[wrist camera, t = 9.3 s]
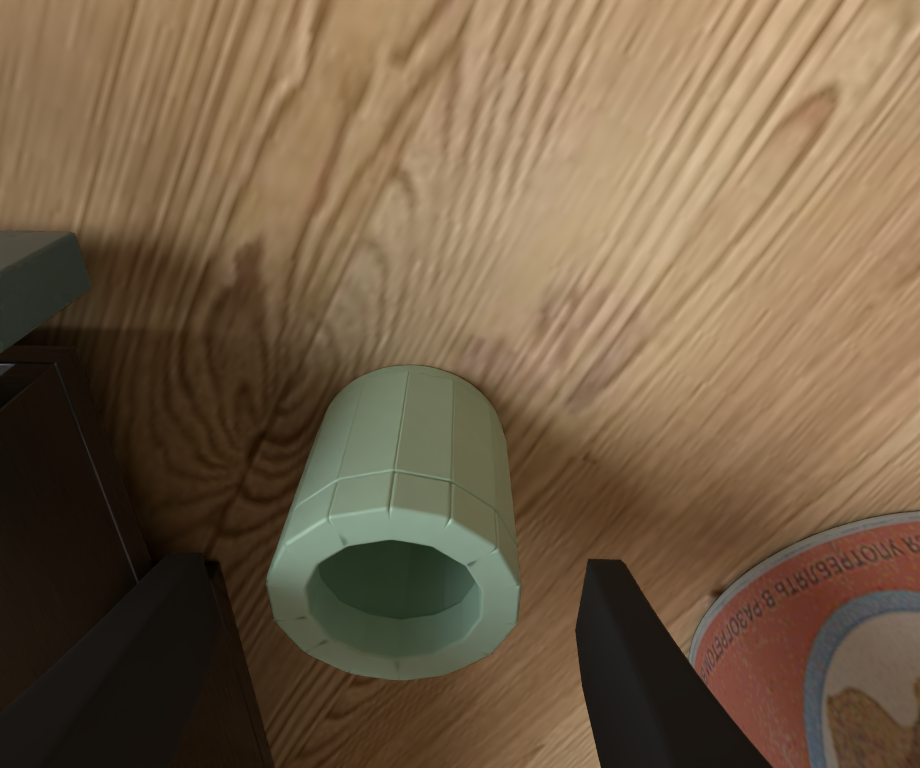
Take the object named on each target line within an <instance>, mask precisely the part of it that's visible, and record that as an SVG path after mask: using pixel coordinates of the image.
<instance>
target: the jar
mask: <svg viewBox="0 0 920 768" xmlns="http://www.w3.org/2000/svg"><path fill="white" fill-rule="evenodd" d="M521 587H522V586H521V577H520V567H519V558H518V551H517V537H516V528H515V519H514V509H513V500H512V491H511V481H510V472H509V463H508V453H507V444H506V437H505V435H504V433H503V429H502V425H501V422H500V419H499V417H498V415H497V413H496V411H495V409H494V407H493V406H492V405H491V403H490V402H489V401H488V399H487V398H486V397H485V396H484V395H483V394H482V393H481V392H480V391H479V390H478V389H476V388H475V387H474V386H472V385H471V384H470V383H468V382H467V381H465V380H463V379H462V378H460V377H458V376H456V375H453V374H451V373H449V372H446V371H443V370H440V369H436V368H431V367H426V366H416V365H400V366H392V367H386V368H382V369H378V370H375V371H372V372H370V373H367V374H365V375H363V376H361V377H359V378H357V379H356V380H354V381H352V382H351V383H349V384H348V385H347V386H346V387H344V388H343V389H342V390H341V391H340V392H339V393H338V394H337V395H336V396H335V398H334V399H333V401H332V402H331V403H330V405H329V407H328V409H327V411H326V413H325V415H324V418H323V421H322V423H321V425H320V428H319V430H318V432H317V434H316V437H315V440H314V442H313V445H312V448H311V451H310V454H309V457H308V459H307V462H306V465H305V468H304V471H303V474H302V476H301V479H300V482H299V485H298V488H297V491H296V493H295V496H294V499H293V502H292V505H291V508H290V510H289V513H288V516H287V519H286V522H285V525H284V527H283V530H282V533H281V536H280V539H279V542H278V545H277V548H276V551H275V554H274V556H273V559H272V562H271V565H270V568H269V571H268V573H267V580H266V588H267V592H268V597H269V602H270V606H271V611H272V615H273V618H274V619H275V622H276V624H277V625H278V626H279V627H280V628H281V629H282V630H283V631H284V632H285V633H286V635H287V636H288V637H289V638H290V639H291V640H292V641H293V642H294V643H295V644H296V645H297V646H298V647H299V648H300V649H301V650H302V651H305V653H306V654H308V655H310V656H312V657H314V658H316V659H318V660H321V661H323V662H325V663H327V664H329V665H331V666H333V667H336V668H338V669H340V670H342V671H344V672H349V673H350V674H354V675H361V676H367V677H374V678H381V679H388V680H394V681H397V680H400V681H404V680H412V679H420V678H428V677H436V676H444V675H448V673H453V672H455V671H457V670H459V669H461V668H463V667H465V666H468V665H470V664H472V663H474V662H476V661H478V660H480V659H482V658H485V657H487V656H488V655H489V654H492V653H493V652H494V651H495V650H496V649H497V647H498V646H499V645H500V644H501V643H502V641H503V640H504V639H505V638H506V637H507V636H508V634H509V633H510V632H511V631H512V630H513V628H514V627H515V626H516V623H517V621H518V617H519V607H520V597H521Z"/></svg>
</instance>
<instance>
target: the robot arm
mask: <svg viewBox="0 0 920 768" xmlns="http://www.w3.org/2000/svg"><path fill="white" fill-rule="evenodd" d="M221 628H222V623H221V619H220V616H219V612H218V609H217V605H216V602H215V598H214V595H213V592H212V588H211V585H210V581H209V578H208V574H207V571H206V567H205V564H204V560H203V557H202V553H168V554H167V555H166V556H165V557H164V558H163V559H162V560H161V561H160V562H159V563H158V564H157V565H155V566H154V567H153V568H152V569H151V570H150V571H149V572H148V573H147V574H146V575H145V576H144V577H143V578H142V579H141V580H140V581H139V582H138V584H137V585H136V586H135V587H134V588H133V589H132V590H131V591H130V592H129V593H128V594H127V595H126V596H125V597H124V598H123V599H122V600H121V601H120V602H119V603H118V604H117V605H116V606H115V607H114V608H113V609H112V610H111V611H110V612H109V613H108V614H107V615H106V616H105V617H104V618H103V619H102V620H101V621H99V622H98V623H97V624H96V625H95V626H94V627H93V628H92V629H91V630H90V631H89V632H88V633H87V634H86V635H85V636H84V637H83V638H82V639H81V640H80V641H79V642H78V643H77V644H76V645H75V646H74V647H73V648H72V649H70V650H69V651H68V652H67V653H66V654H65V655H64V656H63V657H62V658H61V659H60V660H59V661H58V662H57V663H56V664H55V665H54V666H52V667H51V668H50V669H49V670H48V671H47V672H46V673H45V674H44V675H42V676H41V677H40V678H39V679H38V680H37V681H36V682H35V683H34V684H32V685H31V686H30V687H29V688H28V689H27V690H26V691H25V692H24V693H22V694H21V695H20V696H19V697H18V698H17V699H16V700H15V701H14V702H12V703H11V704H10V705H9V706H8V707H7V708H6V709H4V710H3V711H2V712H1V713H0V768H171V766H172V764H173V761H174V759H175V756H176V754H177V752H178V749H179V747H180V744H181V742H182V740H183V737H184V735H185V732H186V730H187V728H188V725H189V723H190V720H191V718H192V715H193V713H194V710H195V708H196V706H197V703H198V701H199V698H200V696H201V693H202V691H203V688H204V686H205V683H206V681H207V677H208V674H209V670H210V667H211V664H212V660H213V657H214V654H215V650H216V646H217V642H218V639H219V635H220V631H221ZM575 632H576V640H577V649H578V657H579V665H580V673H581V681H582V687H583V692H584V696H585V701H586V705H587V710H588V714H589V718H590V723H591V727H592V731H593V736H594V740H595V744H596V749H597V753H598V757H599V761H600V766H601V768H773V767H772V765H771V764H770V763H769V762H768V761H767V760H766V759H765V757H764V756H763V755H762V754H761V753H760V752H759V751H758V749H757V748H756V747H755V746H754V745H753V743H752V742H751V741H750V740H749V739H748V737H747V736H746V735H745V734H744V733H743V731H742V730H741V729H740V728H739V726H738V725H737V724H736V723H735V722H734V720H733V719H732V718H731V717H730V715H729V714H728V713H727V711H726V710H725V709H724V708H723V706H722V705H721V704H720V703H719V701H718V700H717V699H716V697H715V696H714V695H713V694H712V692H711V691H710V690H709V688H708V687H707V686H706V684H705V683H704V682H703V680H702V679H701V678H700V676H699V675H698V674H697V672H696V671H695V669H694V668H693V667H692V665H691V664H690V662H689V661H688V660H687V658H686V657H685V655H684V654H683V653H682V651H681V650H680V648H679V647H678V646H677V644H676V643H675V641H674V640H673V638H672V637H671V635H670V634H669V632H668V631H667V630H666V628H665V627H664V625H663V624H662V622H661V620H660V619H659V617H658V616H657V614H656V613H655V611H654V610H653V608H652V607H651V605H650V604H649V602H648V600H647V599H646V597H645V596H644V594H643V592H642V591H641V589H640V588H639V586H638V584H637V583H636V581H635V579H634V578H633V576H632V574H631V573H630V571H629V569H628V568H627V566H626V564H625V563H624V562H623V561H622V560H616V559H588V562H587V568H586V573H585V579H584V585H583V590H582V596H581V601H580V607H579V612H578V618H577V624H576V629H575Z"/></svg>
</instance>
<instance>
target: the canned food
mask: <svg viewBox="0 0 920 768" xmlns="http://www.w3.org/2000/svg"><path fill="white" fill-rule="evenodd" d="M689 662H690V664H691V665H692V667H693V668H694V669H695V671H696V672H697V674H698V675H699V676H700V678H701V679H702V680H703V682H704V683H705V684H706V686H707V687H708V688H709V690H710V691H711V692H712V694H713V695H714V696H715V697H716V699H717V700H718V701H719V703H720V704H721V705H722V706H723V708H724V709H725V710H726V711H727V713H728V714H729V715H730V717H731V718H732V719H733V720H734V722H735V723H736V724H737V725H738V726H739V728H740V729H741V730H742V731H743V733H744V734H745V735H746V736H747V737H748V739H749V740H750V741H751V742H752V743H753V745H754V746H755V747H756V748H757V749H758V751H759V752H760V753H761V754H762V755H763V756H764V757H765V759H766V760H767V761H768V762H769V763H770V764H771V765H772V767H773V768H920V511H915V512H905V513H896V514H890V515H884V516H878V517H873V518H868V519H864V520H860V521H856V522H852V523H848V524H845V525H842V526H838V527H835V528H832V529H829V530H827V531H824V532H821V533H818V534H816V535H813V536H811V537H808V538H806V539H804V540H802V541H799V542H797V543H795V544H793V545H791V546H789V547H787V548H785V549H783V550H781V551H779V552H777V553H776V554H774V555H772V556H771V557H769V558H767V559H766V560H764V561H762V562H761V563H759V564H758V565H756V566H755V567H754V568H752V569H751V570H749V571H748V572H746V573H745V574H744V575H743V576H742V577H740V578H739V579H738V580H737V581H735V582H734V583H733V584H732V585H731V586H730V587H729V588H728V589H727V590H726V591H725V592H724V593H723V594H722V595H721V596H720V597H719V598H718V599H717V600H716V601H715V603H714V604H713V605H712V606H711V607H710V609H709V610H708V612H707V613H706V615H705V616H704V617H703V619H702V621H701V623H700V624H699V626H698V628H697V630H696V632H695V635H694V638H693V640H692V644H691V648H690V654H689Z"/></svg>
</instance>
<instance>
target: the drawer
mask: <svg viewBox="0 0 920 768" xmlns="http://www.w3.org/2000/svg"><path fill="white" fill-rule="evenodd" d="M91 288H92V285H91V282H90V278H89V275H88V272H87V269H86V266H85V263H84V260H83V256H82V253H81V250H80V247H79V244H78V241H77V237H76V235H75V233H73V232H43V231H0V713H1V712H2V711H3V710H4V709H6V708H7V707H8V706H9V705H10V704H11V703H12V702H14V701H15V700H16V699H17V698H18V697H19V696H20V695H21V694H22V693H24V692H25V691H26V690H27V689H28V688H29V687H30V686H31V685H32V684H34V683H35V682H36V681H37V680H38V679H39V678H40V677H41V676H42V675H44V674H45V673H46V672H47V671H48V670H49V669H50V668H51V667H52V666H54V665H55V664H56V663H57V662H58V661H59V660H60V659H61V658H62V657H63V656H64V655H65V654H66V653H67V652H68V651H69V650H70V649H72V648H73V647H74V646H75V645H76V644H77V643H78V642H79V641H80V640H81V639H82V638H83V637H84V636H85V635H86V634H87V633H88V632H89V631H90V630H91V629H92V628H93V627H94V626H95V625H96V624H97V623H98V622H99V621H101V620H102V619H103V618H104V617H105V616H106V615H107V614H108V613H109V612H110V611H111V610H112V609H113V608H114V607H115V606H116V605H117V604H118V603H119V602H120V601H121V600H122V599H123V598H124V597H125V596H126V595H127V594H128V593H129V592H130V591H131V590H132V589H133V588H134V587H135V586H136V585H137V584H138V582H139V581H140V580H141V579H142V578H143V577H144V576H145V575H146V574H147V573H148V572H149V571H150V570H151V569H152V568H153V565H152V562H151V559H150V557H149V554H148V551H147V548H146V545H145V542H144V539H143V537H142V534H141V531H140V528H139V525H138V522H137V520H136V517H135V514H134V511H133V508H132V505H131V502H130V500H129V497H128V494H127V491H126V488H125V485H124V483H123V480H122V477H121V474H120V471H119V468H118V466H117V463H116V460H115V457H114V454H113V451H112V448H111V446H110V443H109V440H108V437H107V434H106V431H105V429H104V426H103V423H102V420H101V417H100V414H99V411H98V409H97V406H96V403H95V400H94V397H93V394H92V392H91V389H90V386H89V383H88V380H87V377H86V375H85V372H84V369H83V366H82V363H81V360H80V357H79V355H78V352H77V349H76V347H74V346H16V345H13V344H15V343H16V342H17V341H19V340H20V339H22V338H23V337H24V336H26V335H27V334H29V333H30V332H31V331H33V330H34V329H35V328H37V327H38V326H40V325H41V324H42V323H44V322H45V321H47V320H48V319H49V318H51V317H52V316H54V315H55V314H56V313H58V312H59V311H61V310H62V309H63V308H65V307H66V306H68V305H69V304H70V303H72V302H73V301H75V300H76V299H77V298H79V297H80V296H82V295H83V294H84V293H86V292H87V291H89V290H90V289H91Z"/></svg>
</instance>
